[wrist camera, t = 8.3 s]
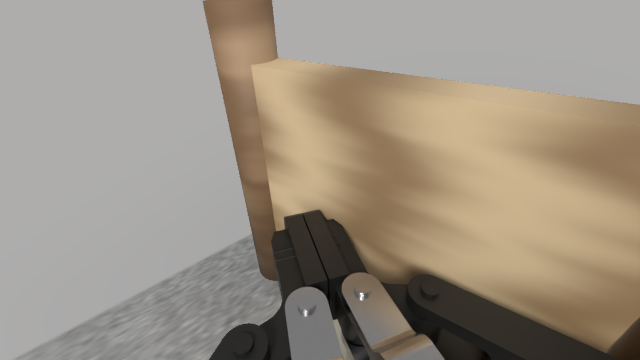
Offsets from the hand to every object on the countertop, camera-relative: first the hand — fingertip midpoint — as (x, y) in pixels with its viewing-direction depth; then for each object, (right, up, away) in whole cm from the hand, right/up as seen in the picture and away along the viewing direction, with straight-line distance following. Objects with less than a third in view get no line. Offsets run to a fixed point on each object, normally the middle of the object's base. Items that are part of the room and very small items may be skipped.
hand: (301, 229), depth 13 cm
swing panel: (+3, -5, +3) cm, 6 cm away
